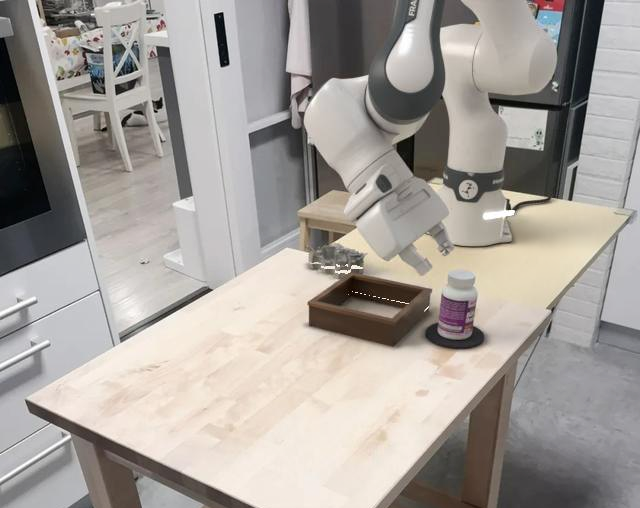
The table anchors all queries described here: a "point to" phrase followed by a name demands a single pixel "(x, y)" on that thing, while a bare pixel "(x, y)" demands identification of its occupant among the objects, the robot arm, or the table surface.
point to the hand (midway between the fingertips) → (439, 262)
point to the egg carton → (336, 259)
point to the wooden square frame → (366, 325)
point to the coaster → (469, 342)
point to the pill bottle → (458, 305)
